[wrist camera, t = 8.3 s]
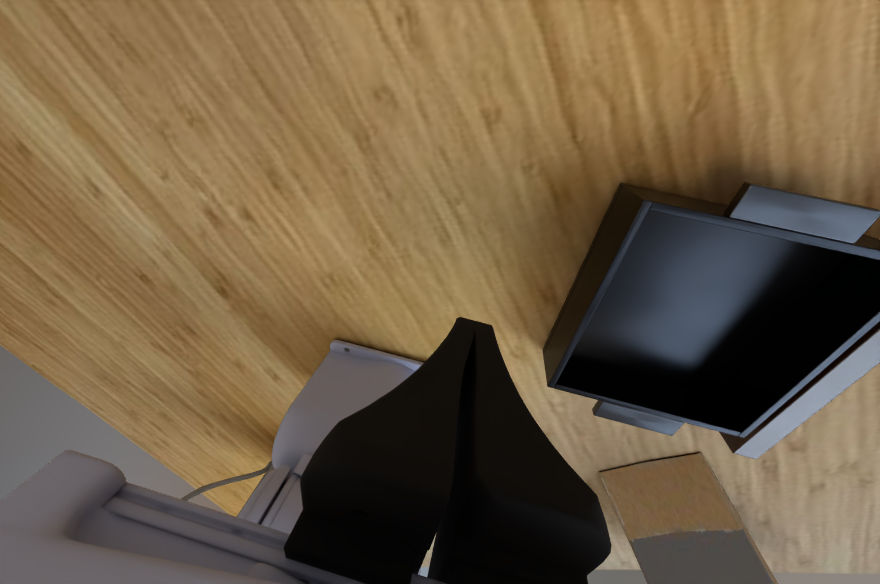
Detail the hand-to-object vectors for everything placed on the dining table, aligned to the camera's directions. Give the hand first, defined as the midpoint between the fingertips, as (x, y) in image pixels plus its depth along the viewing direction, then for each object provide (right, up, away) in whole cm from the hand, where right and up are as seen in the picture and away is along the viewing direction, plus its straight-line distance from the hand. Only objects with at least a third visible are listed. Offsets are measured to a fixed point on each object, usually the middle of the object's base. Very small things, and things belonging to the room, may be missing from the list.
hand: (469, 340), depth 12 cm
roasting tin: (+13, +1, +7) cm, 15 cm away
